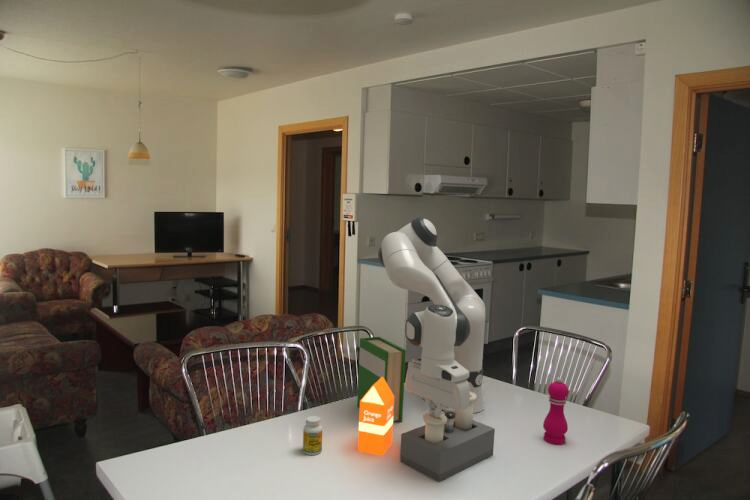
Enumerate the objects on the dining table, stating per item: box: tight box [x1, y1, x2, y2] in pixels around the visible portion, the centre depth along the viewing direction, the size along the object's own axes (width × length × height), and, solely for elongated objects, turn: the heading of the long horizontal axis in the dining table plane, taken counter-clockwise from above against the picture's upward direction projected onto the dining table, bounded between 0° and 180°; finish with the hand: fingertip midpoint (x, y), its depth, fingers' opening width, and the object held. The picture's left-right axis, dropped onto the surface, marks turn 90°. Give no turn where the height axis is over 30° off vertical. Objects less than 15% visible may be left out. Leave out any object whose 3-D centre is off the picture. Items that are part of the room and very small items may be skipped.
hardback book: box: [356, 336, 407, 424], centre depth 188 cm, size 18×7×24 cm, turn 29°
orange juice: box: [357, 376, 394, 456], centre depth 163 cm, size 8×9×20 cm
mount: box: [399, 418, 496, 483], centre depth 159 cm, size 14×24×8 cm, turn 134°
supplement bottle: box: [302, 415, 323, 456], centre depth 159 cm, size 5×5×10 cm
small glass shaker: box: [444, 411, 456, 433], centre depth 158 cm, size 3×3×5 cm
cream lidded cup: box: [454, 392, 477, 432], centre depth 162 cm, size 6×6×10 cm
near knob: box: [422, 412, 447, 444], centre depth 154 cm, size 6×6×10 cm
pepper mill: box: [542, 376, 570, 445], centre depth 174 cm, size 7×7×20 cm
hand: (434, 415), depth 153 cm, fingers closed, pressing on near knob
